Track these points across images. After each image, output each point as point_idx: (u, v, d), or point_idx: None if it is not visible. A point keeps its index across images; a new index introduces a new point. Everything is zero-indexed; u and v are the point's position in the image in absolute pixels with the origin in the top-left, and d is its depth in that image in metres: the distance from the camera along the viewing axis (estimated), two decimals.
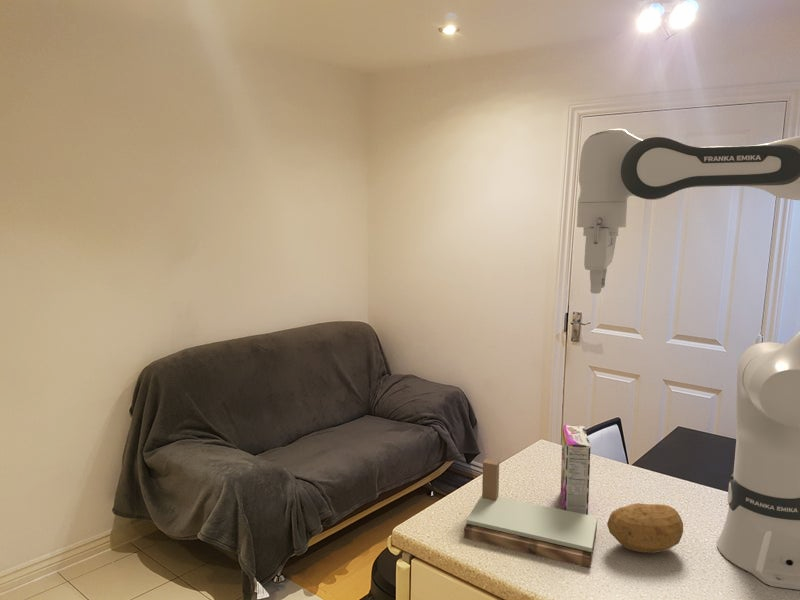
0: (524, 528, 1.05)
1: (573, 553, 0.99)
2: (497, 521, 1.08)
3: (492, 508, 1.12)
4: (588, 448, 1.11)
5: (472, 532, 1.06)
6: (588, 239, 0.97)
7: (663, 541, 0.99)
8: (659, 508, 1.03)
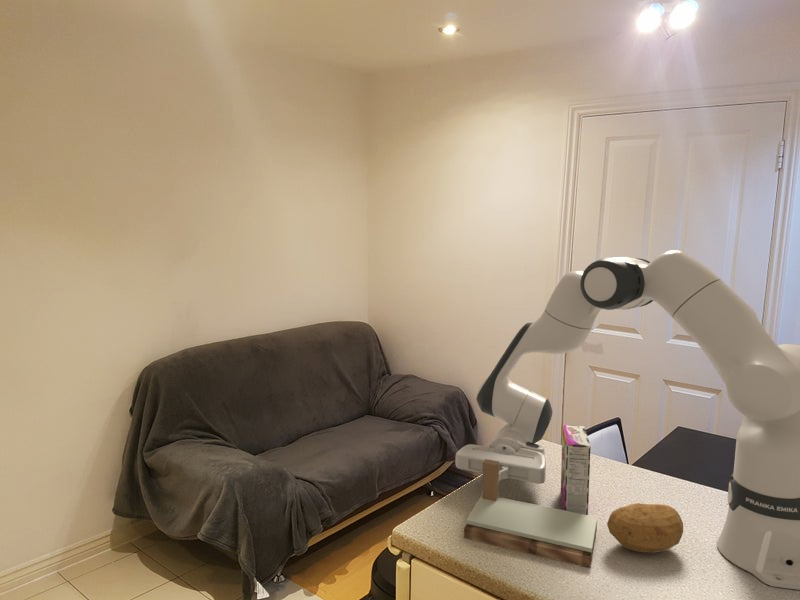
0: (524, 528, 1.05)
1: (573, 553, 0.99)
2: (497, 521, 1.07)
3: (492, 508, 1.12)
4: (588, 448, 1.11)
5: (472, 532, 1.06)
6: None
7: (663, 541, 0.99)
8: (659, 508, 1.03)
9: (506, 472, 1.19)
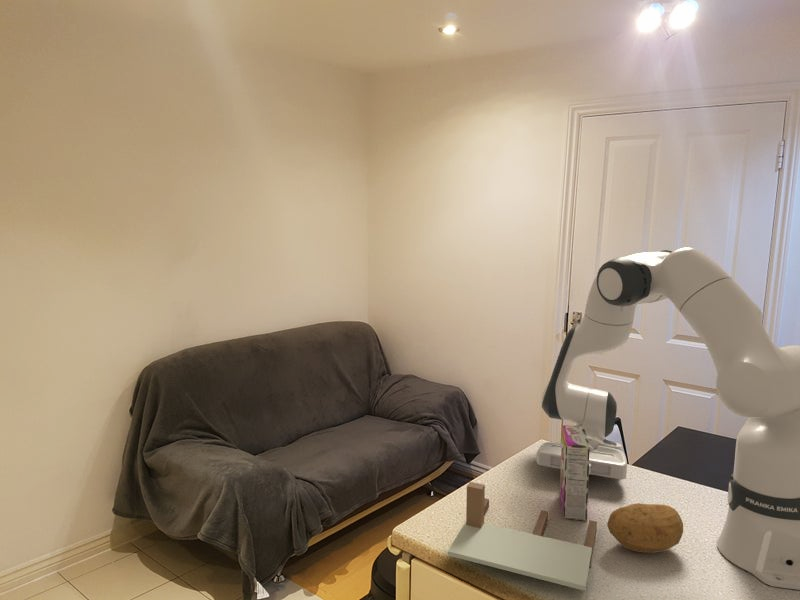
0: (511, 562, 0.95)
1: None
2: (481, 553, 0.97)
3: (477, 537, 1.02)
4: (587, 449, 1.11)
5: None
6: None
7: (663, 541, 0.99)
8: (659, 508, 1.03)
9: (589, 468, 1.25)
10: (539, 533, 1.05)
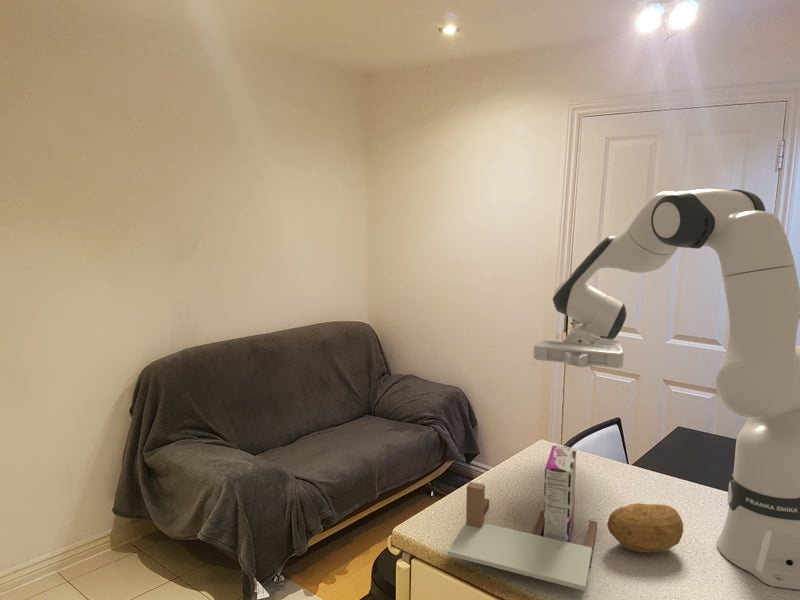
0: (511, 562, 0.95)
1: None
2: (481, 553, 0.97)
3: (477, 537, 1.02)
4: (568, 474, 1.00)
5: None
6: None
7: (663, 541, 0.99)
8: (659, 508, 1.03)
9: (586, 357, 1.25)
10: (539, 533, 1.05)
